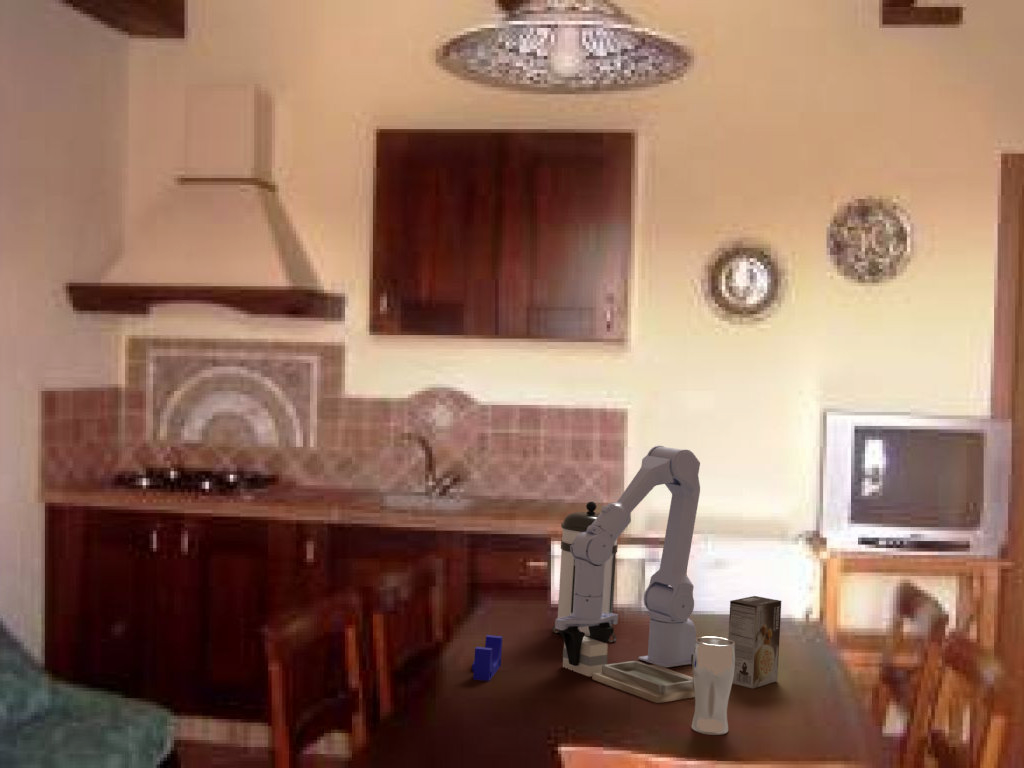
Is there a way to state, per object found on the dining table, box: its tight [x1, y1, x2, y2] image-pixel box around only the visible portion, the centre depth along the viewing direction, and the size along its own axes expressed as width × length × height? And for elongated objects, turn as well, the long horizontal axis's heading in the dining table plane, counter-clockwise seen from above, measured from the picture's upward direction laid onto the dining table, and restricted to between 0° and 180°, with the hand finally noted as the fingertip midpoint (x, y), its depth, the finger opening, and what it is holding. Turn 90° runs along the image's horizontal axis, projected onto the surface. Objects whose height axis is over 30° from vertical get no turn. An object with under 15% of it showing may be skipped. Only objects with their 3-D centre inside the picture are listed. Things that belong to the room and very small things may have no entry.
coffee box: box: [727, 595, 783, 690], centre depth 242 cm, size 9×6×16 cm
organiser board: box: [591, 654, 695, 704], centre depth 235 cm, size 16×18×7 cm
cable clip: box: [471, 634, 503, 682], centre depth 239 cm, size 12×4×6 cm, turn 170°
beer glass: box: [691, 636, 735, 736], centre depth 209 cm, size 7×7×15 cm
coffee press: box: [552, 501, 619, 643], centre depth 275 cm, size 17×16×30 cm
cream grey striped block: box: [562, 636, 608, 677], centre depth 244 cm, size 4×8×6 cm, turn 37°
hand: (584, 663), depth 244 cm, fingers open, 5 cm apart
